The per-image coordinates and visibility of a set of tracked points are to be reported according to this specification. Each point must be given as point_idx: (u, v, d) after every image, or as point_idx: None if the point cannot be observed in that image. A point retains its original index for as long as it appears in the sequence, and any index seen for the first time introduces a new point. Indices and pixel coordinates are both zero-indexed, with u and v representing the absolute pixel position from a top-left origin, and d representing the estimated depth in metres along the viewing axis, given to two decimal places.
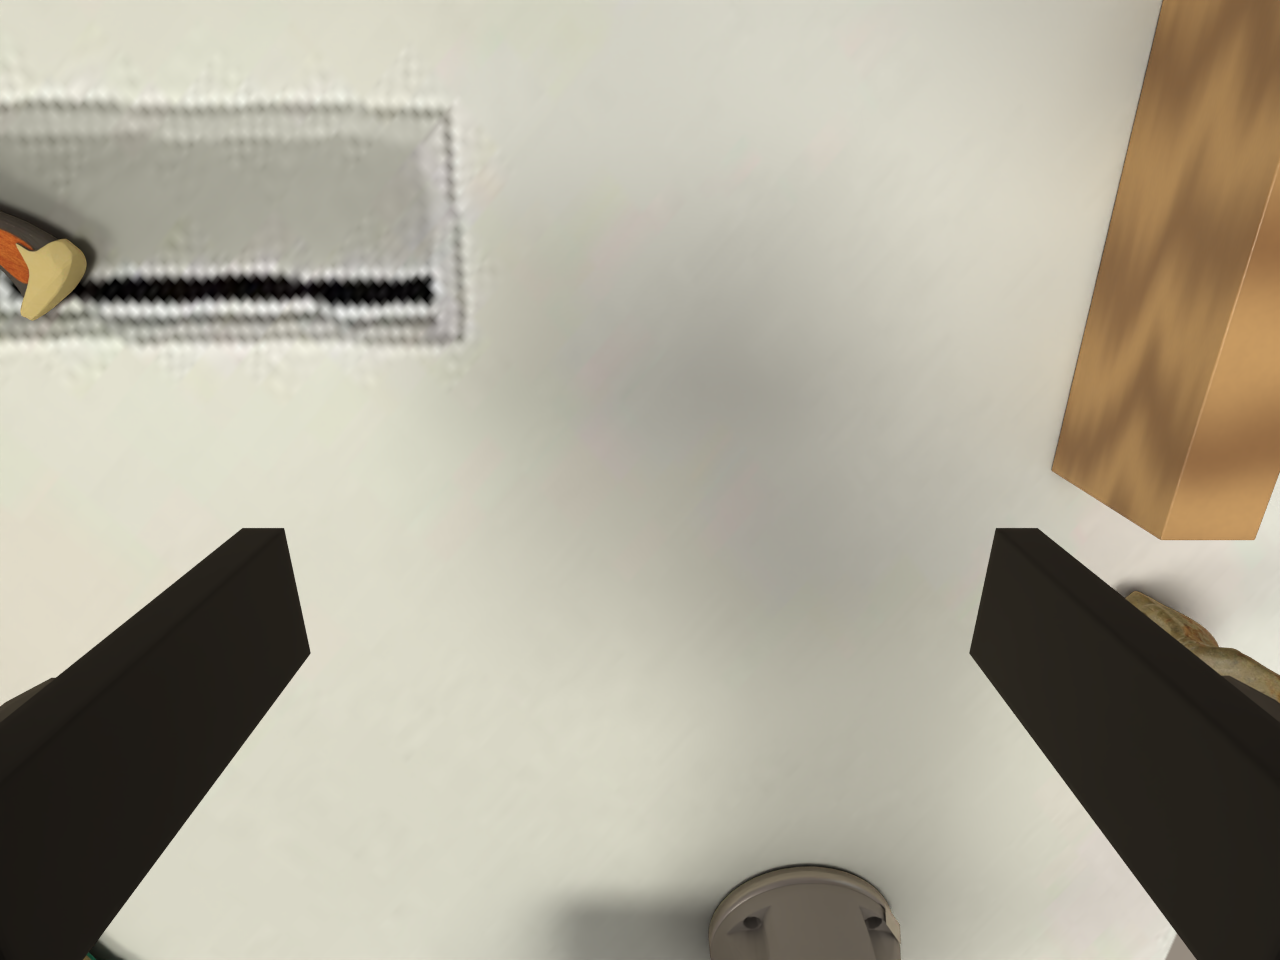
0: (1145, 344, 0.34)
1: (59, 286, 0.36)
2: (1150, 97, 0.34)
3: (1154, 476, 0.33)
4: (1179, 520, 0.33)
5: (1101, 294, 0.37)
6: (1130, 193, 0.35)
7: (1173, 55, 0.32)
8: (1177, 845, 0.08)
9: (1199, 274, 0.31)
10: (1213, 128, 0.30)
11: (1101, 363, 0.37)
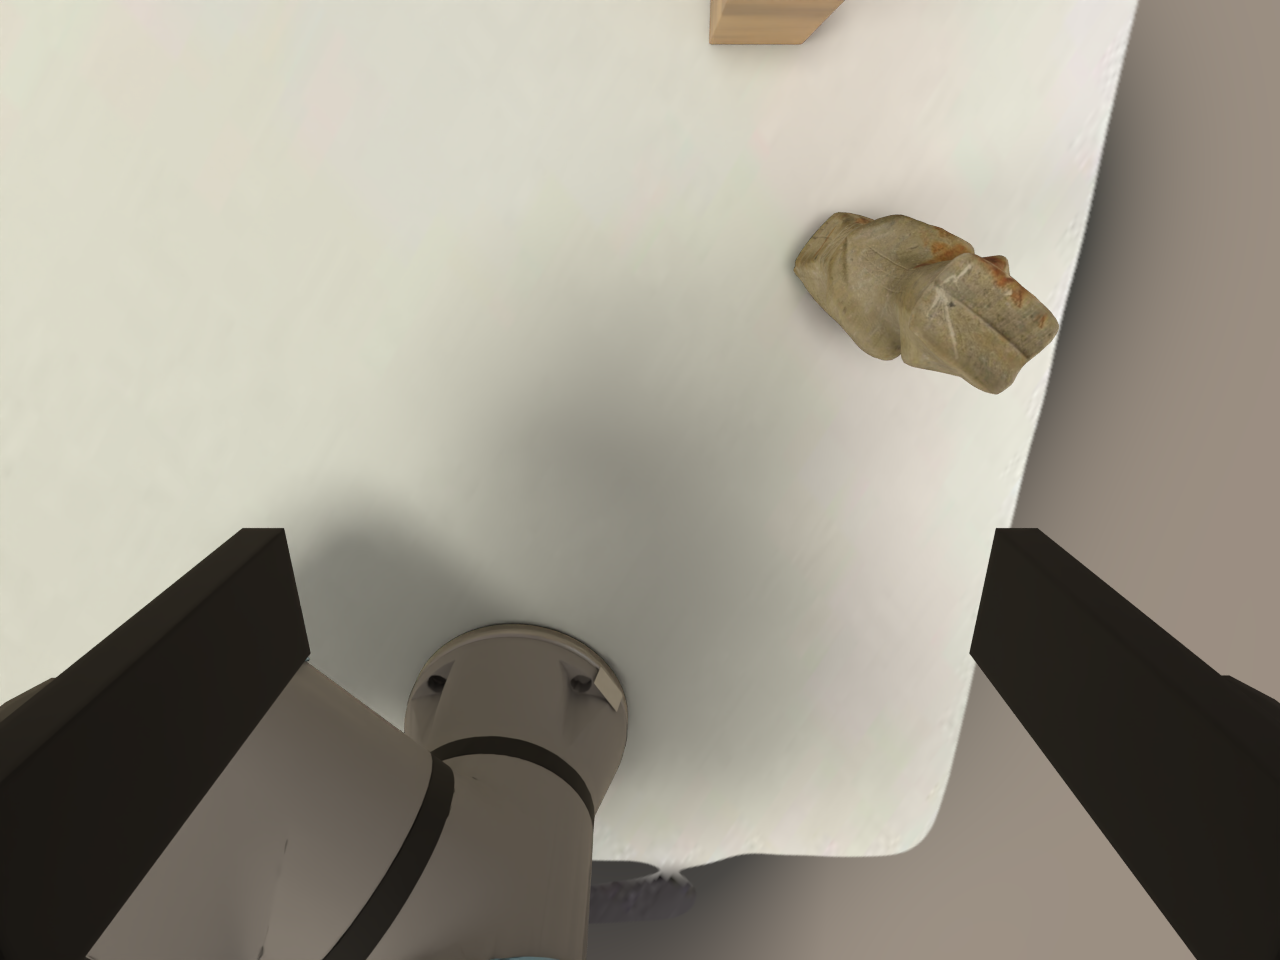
0: None
1: None
2: None
3: None
4: None
5: None
6: None
7: None
8: (1177, 845, 0.08)
9: None
10: None
11: None
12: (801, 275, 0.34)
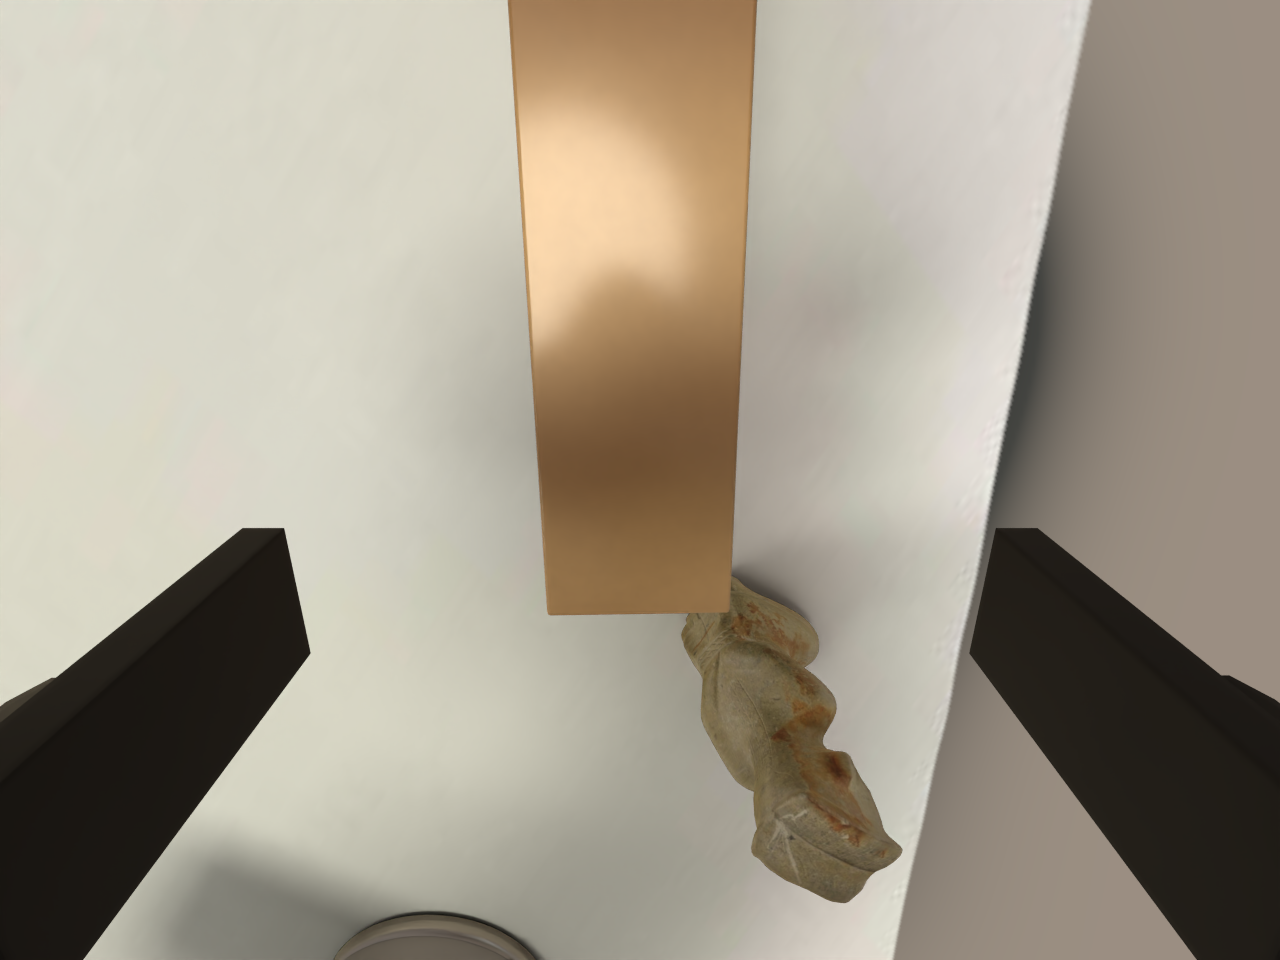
0: None
1: None
2: None
3: None
4: (569, 578, 0.17)
5: None
6: None
7: None
8: (1177, 845, 0.08)
9: None
10: None
11: None
12: None
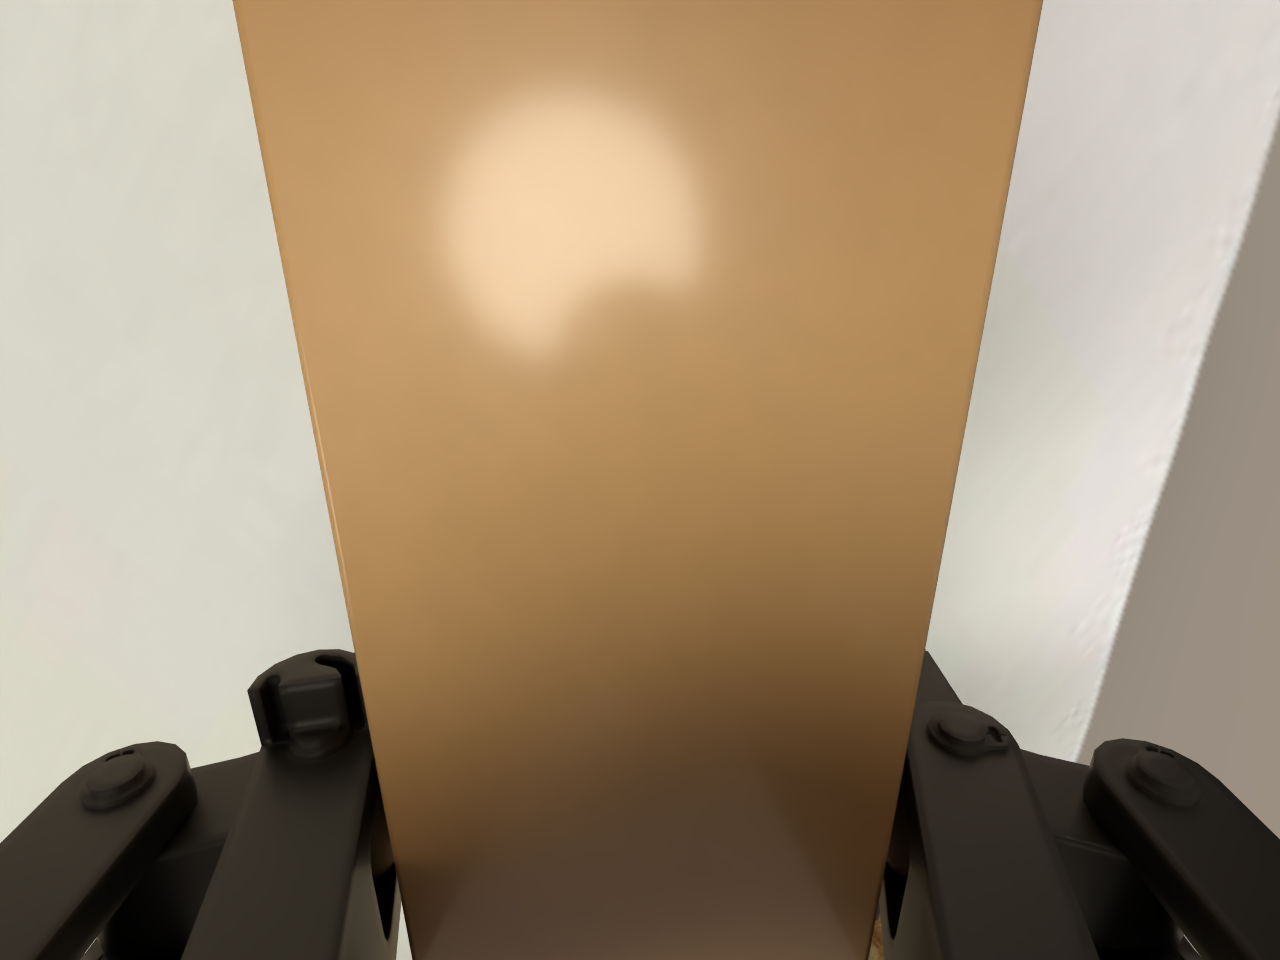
0: None
1: None
2: None
3: None
4: None
5: None
6: None
7: None
8: None
9: None
10: None
11: None
12: None
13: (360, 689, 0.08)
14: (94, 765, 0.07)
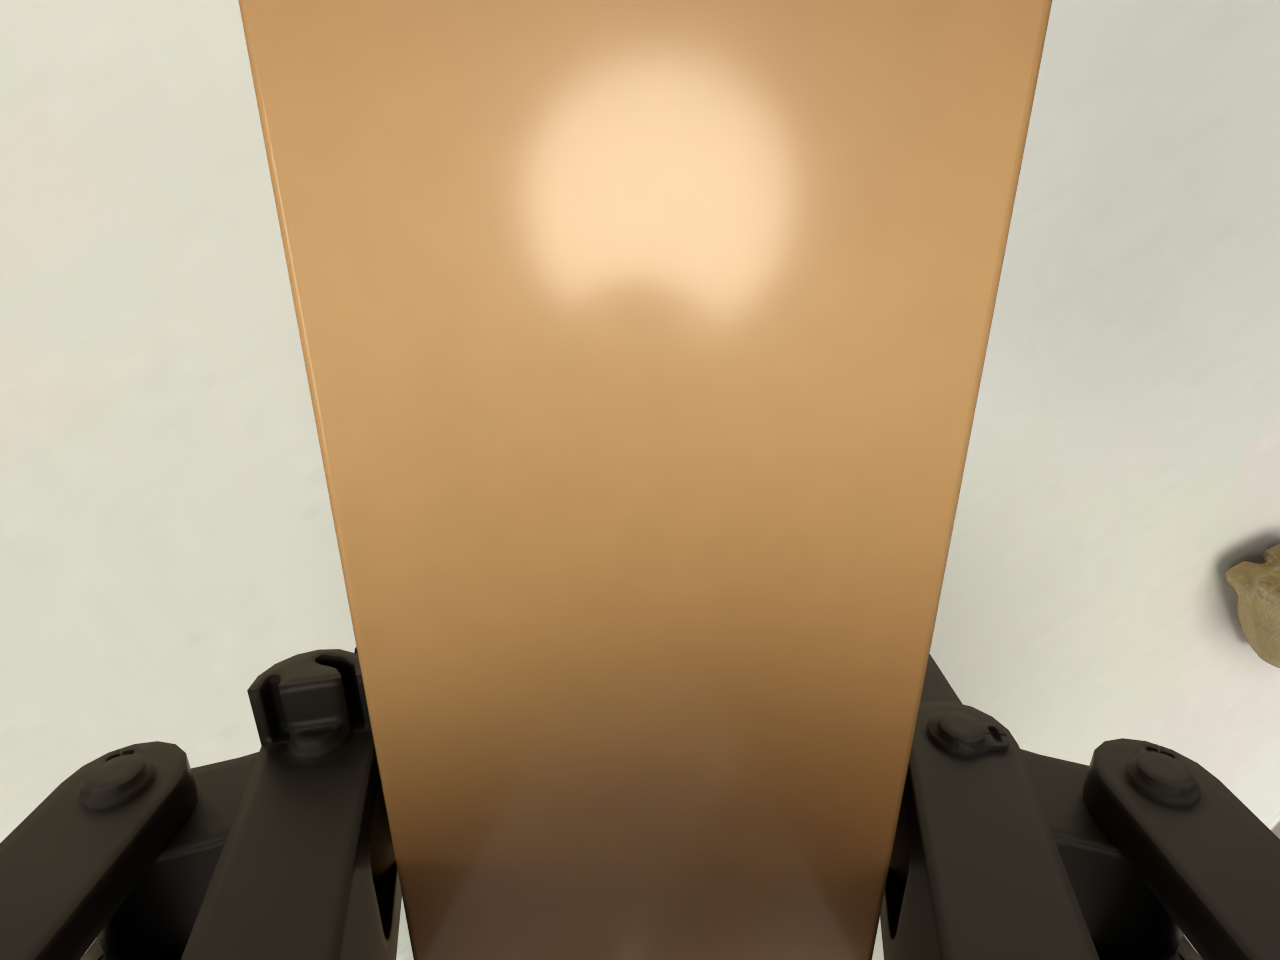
0: None
1: None
2: None
3: None
4: None
5: None
6: None
7: None
8: None
9: None
10: None
11: None
12: (1268, 599, 0.34)
13: (360, 689, 0.08)
14: (94, 765, 0.07)
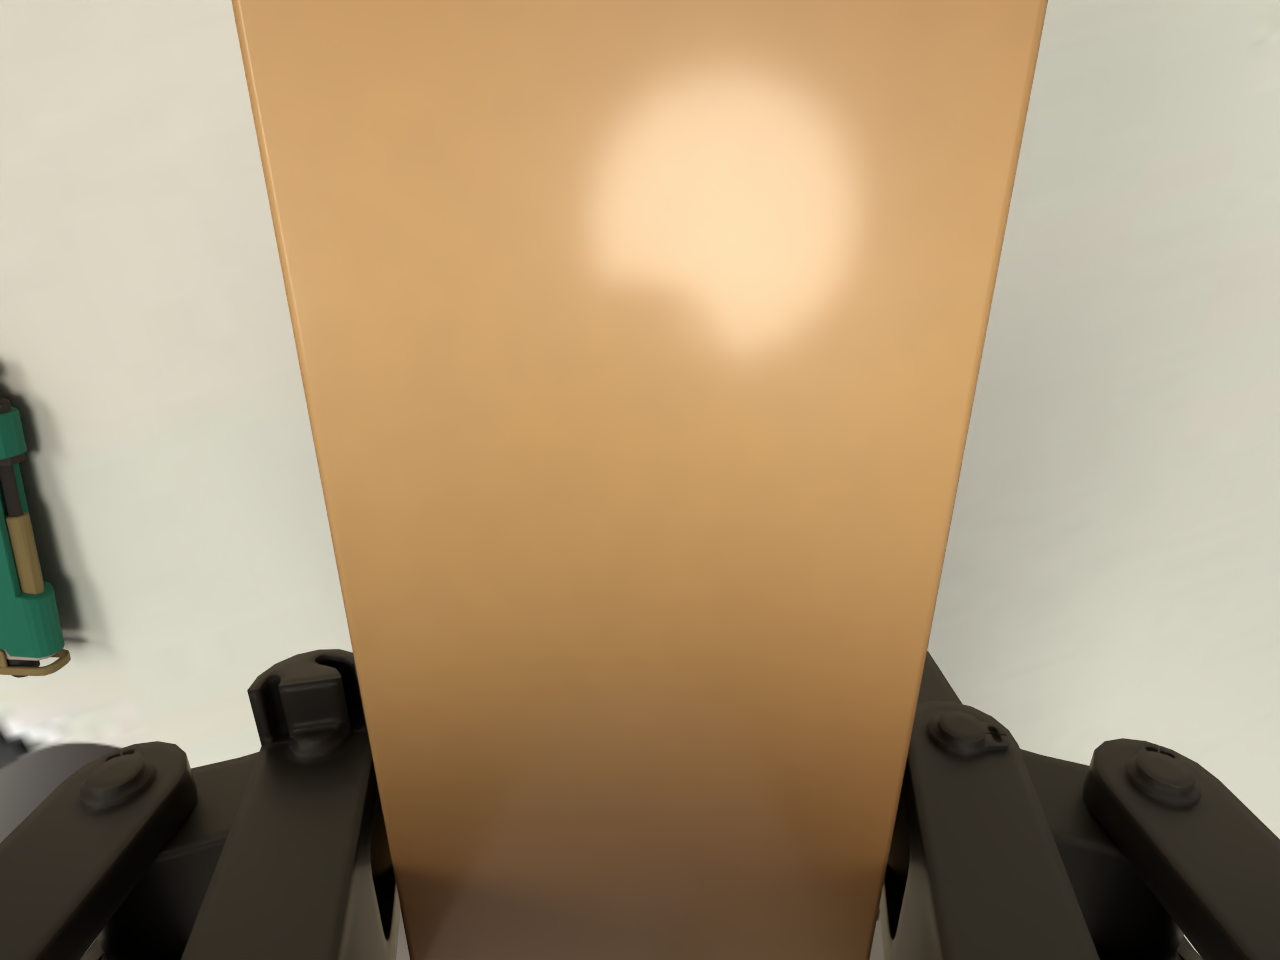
0: None
1: None
2: None
3: None
4: None
5: None
6: None
7: None
8: None
9: None
10: None
11: None
12: None
13: None
14: (94, 765, 0.07)
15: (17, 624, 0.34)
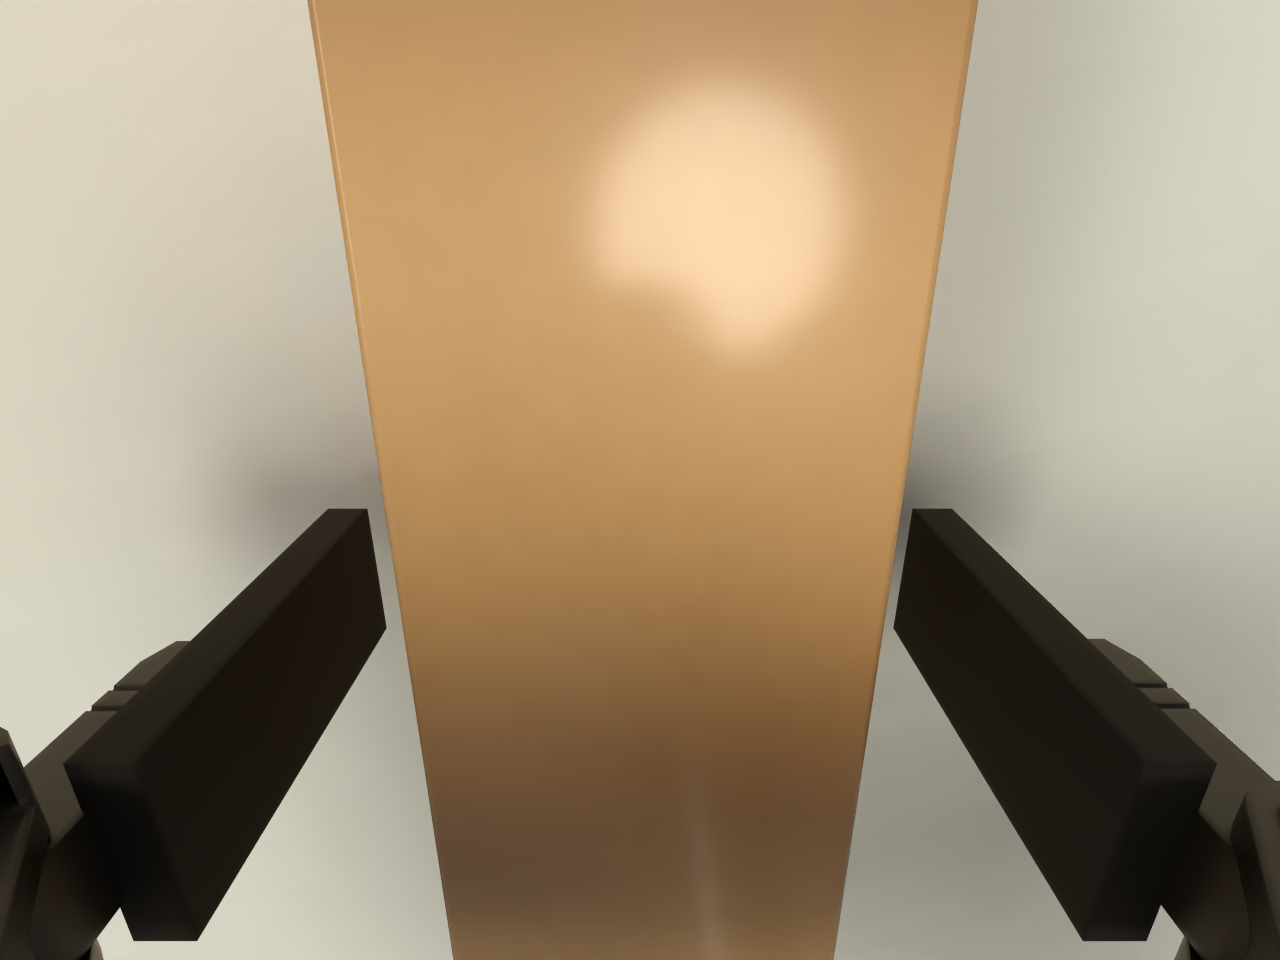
0: None
1: None
2: None
3: None
4: None
5: None
6: None
7: None
8: (1039, 788, 0.09)
9: None
10: None
11: None
12: None
13: (3, 762, 0.07)
14: None
15: None
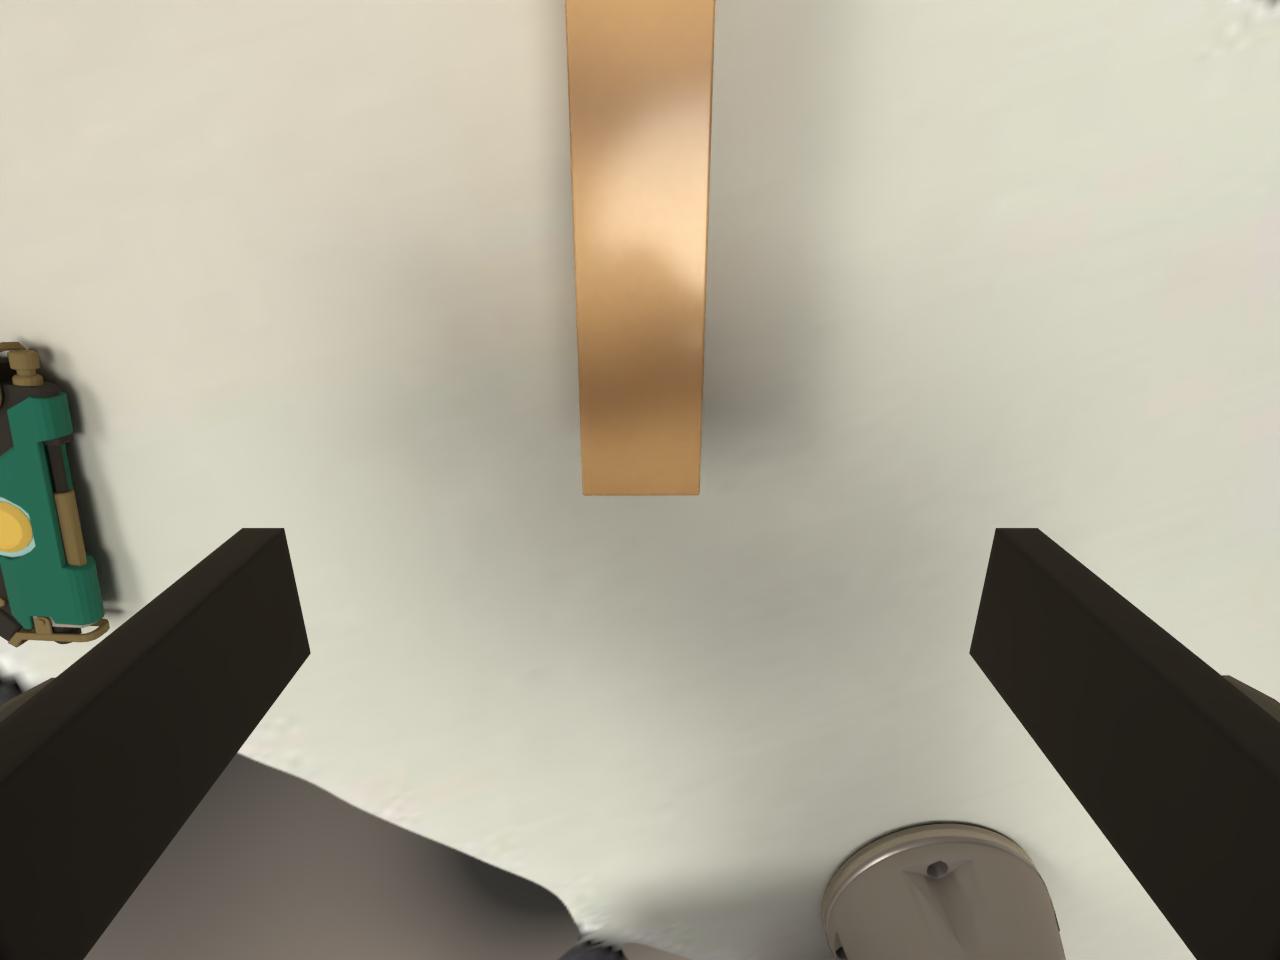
0: None
1: None
2: None
3: None
4: (597, 471, 0.27)
5: None
6: None
7: None
8: (1177, 845, 0.08)
9: None
10: None
11: None
12: None
13: None
14: None
15: (62, 593, 0.36)
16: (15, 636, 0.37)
